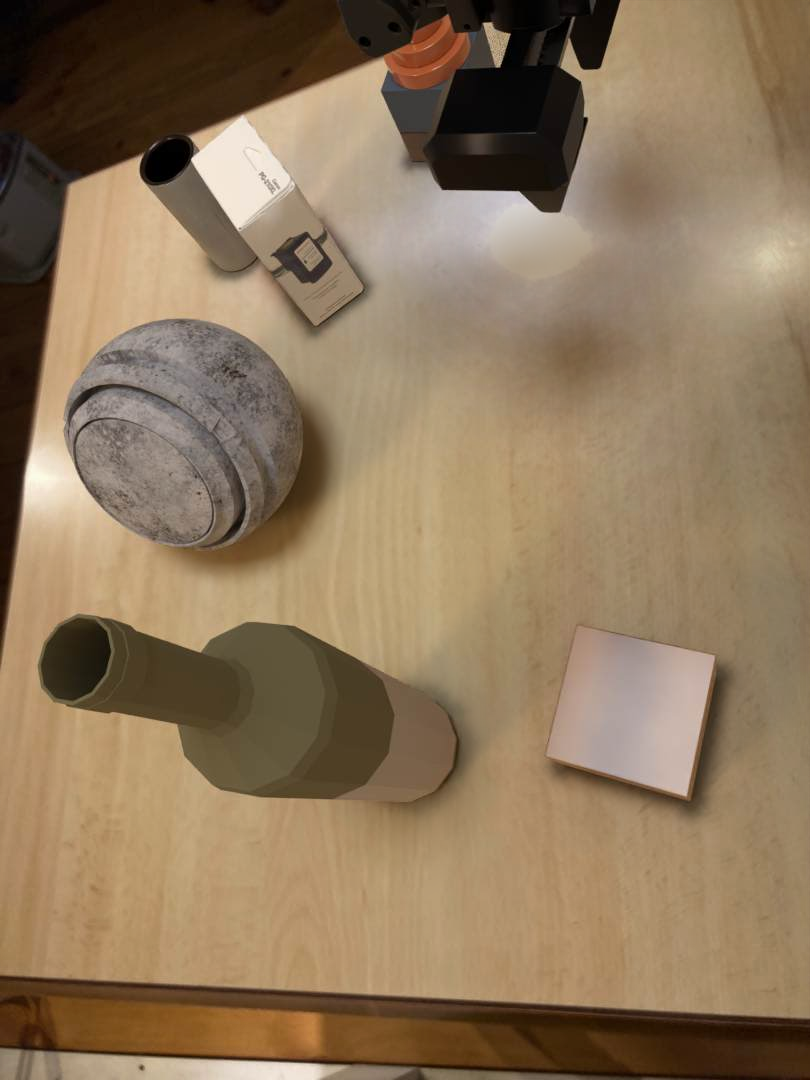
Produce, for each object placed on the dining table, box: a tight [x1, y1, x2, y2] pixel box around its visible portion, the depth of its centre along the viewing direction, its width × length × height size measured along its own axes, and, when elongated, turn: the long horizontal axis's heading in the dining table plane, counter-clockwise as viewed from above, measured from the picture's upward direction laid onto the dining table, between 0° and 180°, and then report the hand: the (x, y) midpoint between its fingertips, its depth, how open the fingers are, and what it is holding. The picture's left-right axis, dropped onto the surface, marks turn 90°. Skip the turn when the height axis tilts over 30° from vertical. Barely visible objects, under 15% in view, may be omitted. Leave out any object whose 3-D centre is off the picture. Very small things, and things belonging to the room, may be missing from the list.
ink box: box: [191, 114, 364, 327], centre depth 60 cm, size 8×5×12 cm, turn 31°
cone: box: [383, 14, 471, 90], centre depth 56 cm, size 6×6×5 cm
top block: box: [380, 23, 496, 133], centre depth 60 cm, size 6×6×4 cm
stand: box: [544, 624, 717, 802], centre depth 44 cm, size 7×7×6 cm
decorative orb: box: [62, 318, 304, 552], centre depth 54 cm, size 15×14×15 cm
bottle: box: [37, 613, 458, 803], centre depth 37 cm, size 7×7×30 cm
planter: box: [138, 132, 258, 272], centre depth 64 cm, size 4×4×10 cm
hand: (571, 137), depth 45 cm, fingers open, 9 cm apart
